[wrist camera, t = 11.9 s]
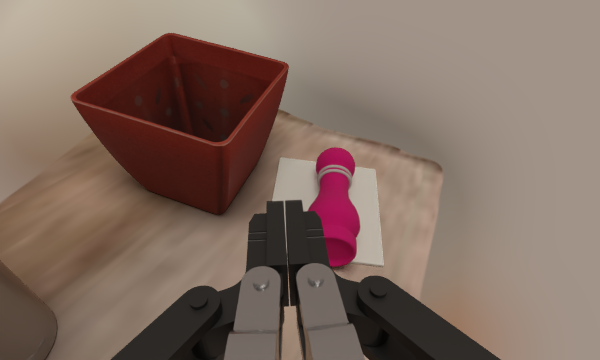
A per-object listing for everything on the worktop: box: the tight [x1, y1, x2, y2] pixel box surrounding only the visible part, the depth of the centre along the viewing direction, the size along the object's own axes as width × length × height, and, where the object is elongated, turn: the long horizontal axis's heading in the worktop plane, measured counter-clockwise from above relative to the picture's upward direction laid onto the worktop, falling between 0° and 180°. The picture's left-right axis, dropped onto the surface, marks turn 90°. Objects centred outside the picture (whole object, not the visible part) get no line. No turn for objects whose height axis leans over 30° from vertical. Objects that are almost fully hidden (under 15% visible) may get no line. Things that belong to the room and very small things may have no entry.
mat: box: [272, 157, 384, 267], centre depth 52 cm, size 18×16×1 cm
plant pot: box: [71, 33, 289, 214], centre depth 49 cm, size 19×19×17 cm
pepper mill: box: [308, 148, 360, 267], centre depth 50 cm, size 7×7×20 cm
